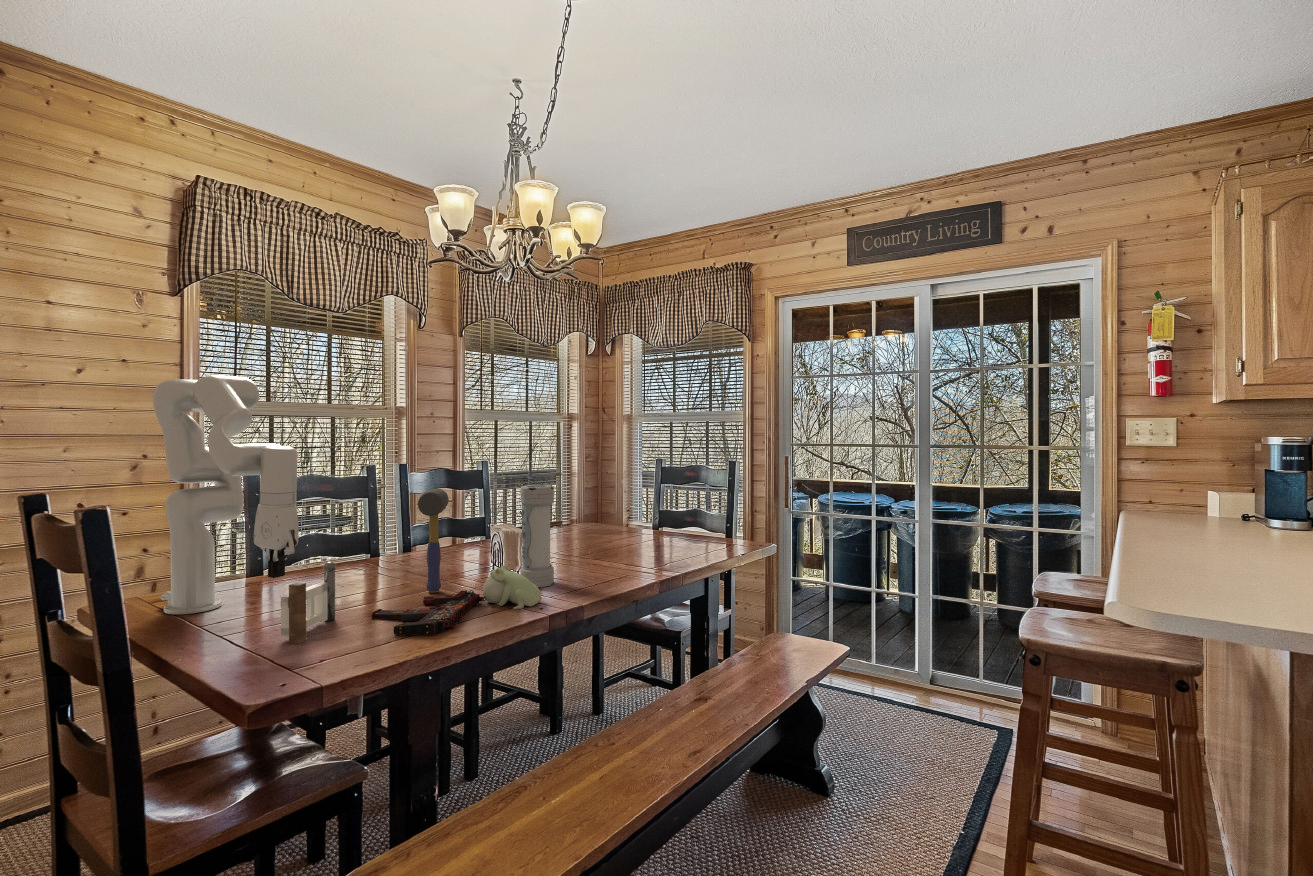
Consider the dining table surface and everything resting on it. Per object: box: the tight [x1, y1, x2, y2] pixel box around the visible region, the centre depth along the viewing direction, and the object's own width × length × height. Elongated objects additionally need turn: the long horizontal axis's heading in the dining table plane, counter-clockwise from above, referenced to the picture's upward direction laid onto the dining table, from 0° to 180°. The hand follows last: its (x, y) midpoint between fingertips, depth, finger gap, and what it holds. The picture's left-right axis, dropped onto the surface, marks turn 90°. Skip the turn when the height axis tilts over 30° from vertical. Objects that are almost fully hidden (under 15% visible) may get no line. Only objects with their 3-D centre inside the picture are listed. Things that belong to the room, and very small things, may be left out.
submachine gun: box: [370, 589, 487, 637], centre depth 171 cm, size 34×4×25 cm
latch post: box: [288, 582, 307, 645], centre depth 148 cm, size 3×2×13 cm
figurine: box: [482, 565, 542, 610], centre depth 182 cm, size 10×16×10 cm, turn 75°
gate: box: [280, 582, 328, 639], centre depth 156 cm, size 2×15×9 cm, turn 173°
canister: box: [520, 484, 555, 589], centre depth 204 cm, size 10×10×30 cm
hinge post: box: [322, 561, 337, 623], centre depth 165 cm, size 3×3×15 cm
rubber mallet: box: [417, 488, 450, 593], centre depth 193 cm, size 12×8×30 cm, turn 9°
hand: (276, 576), depth 157 cm, fingers closed
